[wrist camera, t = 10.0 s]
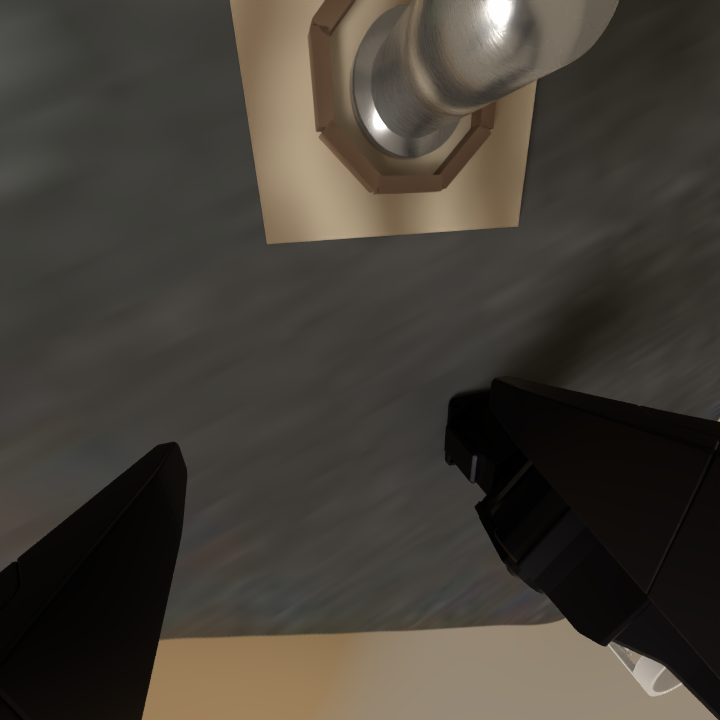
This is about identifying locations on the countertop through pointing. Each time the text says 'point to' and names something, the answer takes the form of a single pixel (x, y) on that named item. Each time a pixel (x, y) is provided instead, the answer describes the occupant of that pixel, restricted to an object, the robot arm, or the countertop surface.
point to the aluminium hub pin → (459, 62)
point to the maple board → (361, 136)
